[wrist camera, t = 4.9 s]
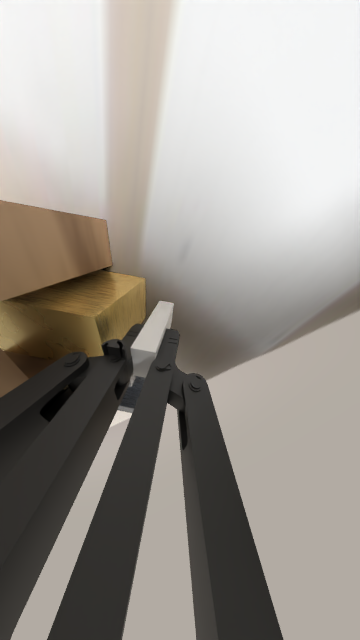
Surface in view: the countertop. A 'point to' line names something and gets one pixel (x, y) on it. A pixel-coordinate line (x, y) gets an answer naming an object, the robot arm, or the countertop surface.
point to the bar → (72, 315)
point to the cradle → (131, 394)
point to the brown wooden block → (43, 265)
